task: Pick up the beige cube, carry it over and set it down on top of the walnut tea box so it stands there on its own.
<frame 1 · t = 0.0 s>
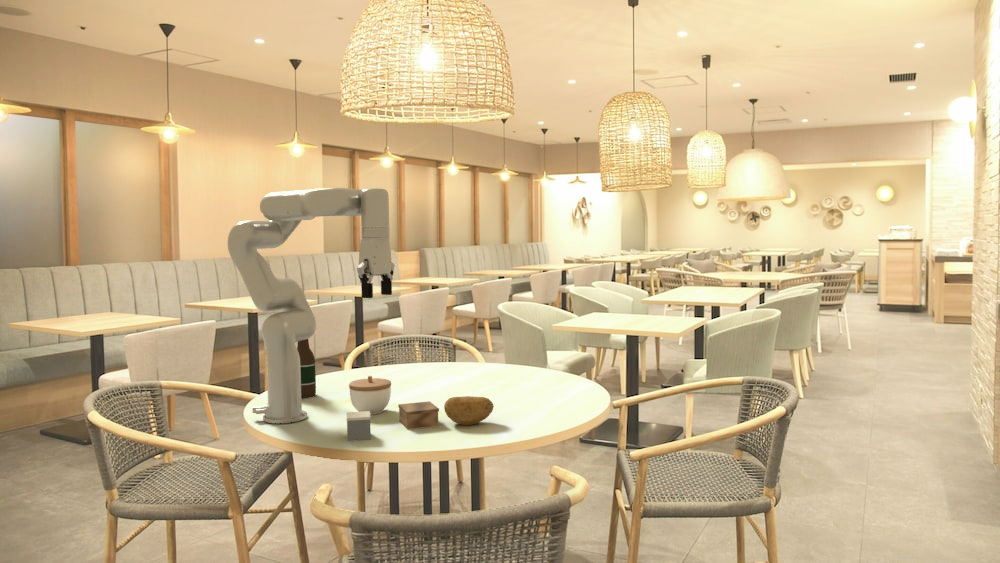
hand: (377, 296, 202), 37 cm above the table, tool pointing down, fingers open, 9 cm apart
beige cube: (359, 437, 197), on the table
beer bottle: (304, 396, 246), on the table
lidded bowl: (370, 412, 224), on the table
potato: (469, 424, 209), on the table
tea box: (418, 424, 210), on the table
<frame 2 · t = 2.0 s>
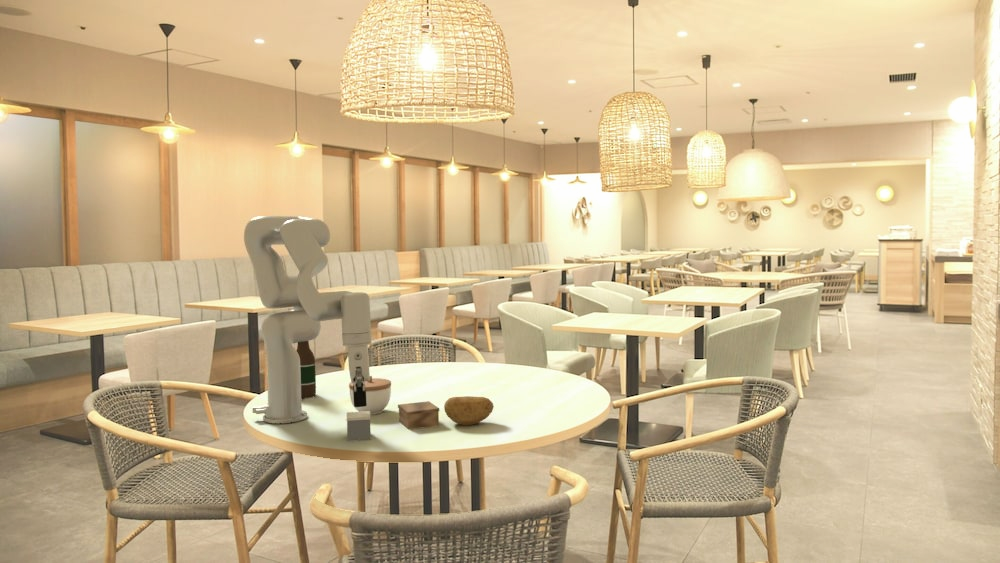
hand: (360, 402, 196), 10 cm above the table, tool pointing down, fingers open, 9 cm apart
nothing on the table moved.
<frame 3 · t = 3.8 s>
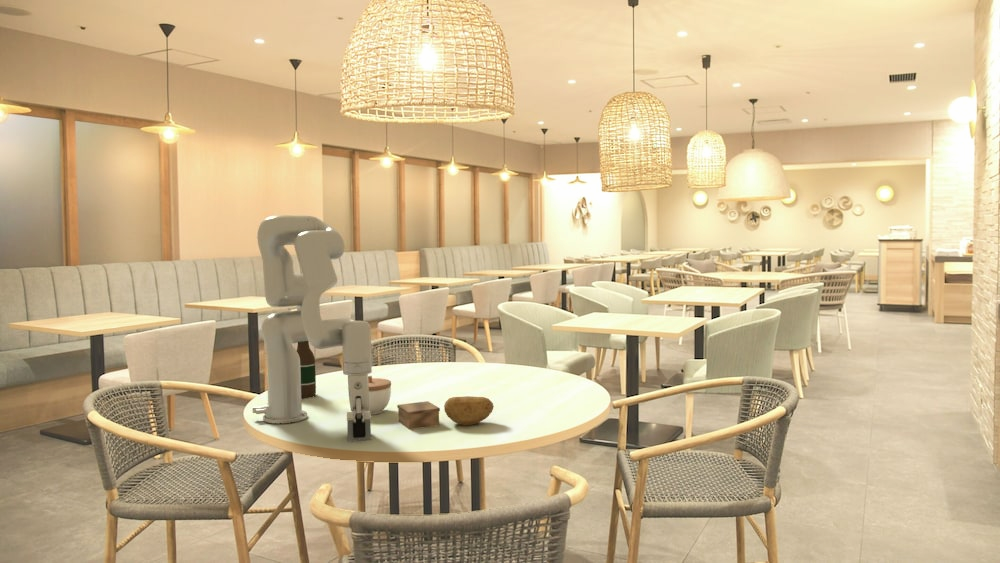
hand: (359, 433, 197), 1 cm above the table, tool pointing down, fingers closed on beige cube, 6 cm apart
beige cube: (359, 437, 197), on the table, touching gripper
everything else where it was.
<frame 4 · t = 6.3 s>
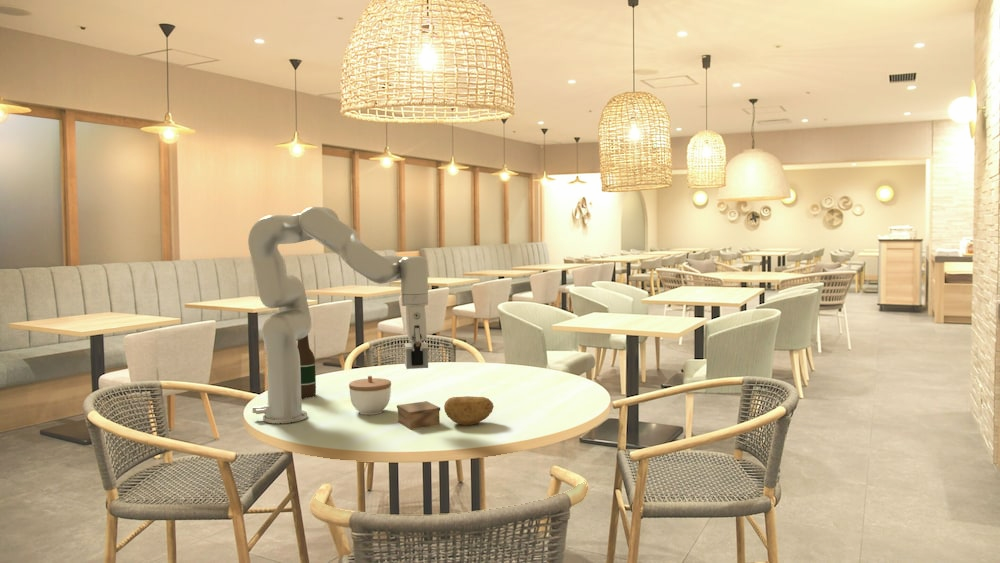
hand: (416, 362, 209), 18 cm above the table, tool pointing down, fingers closed on beige cube, 6 cm apart
beige cube: (416, 366, 209), point 17 cm above the table, touching gripper
everything else where it was.
when the fingers open (6 cm above the table, at t = 9.3 s): beige cube stays where it is, resting on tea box.
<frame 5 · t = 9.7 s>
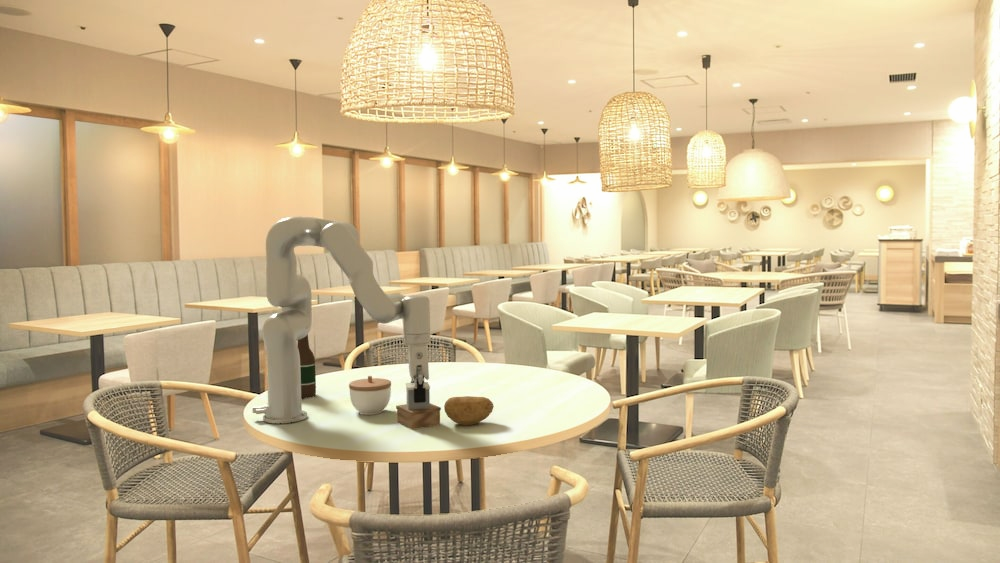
hand: (418, 398, 210), 7 cm above the table, tool pointing down, fingers open, 9 cm apart
beige cube: (418, 406, 210), point 5 cm above the table, touching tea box
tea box: (418, 424, 210), on the table, touching beige cube
everything else where it was.
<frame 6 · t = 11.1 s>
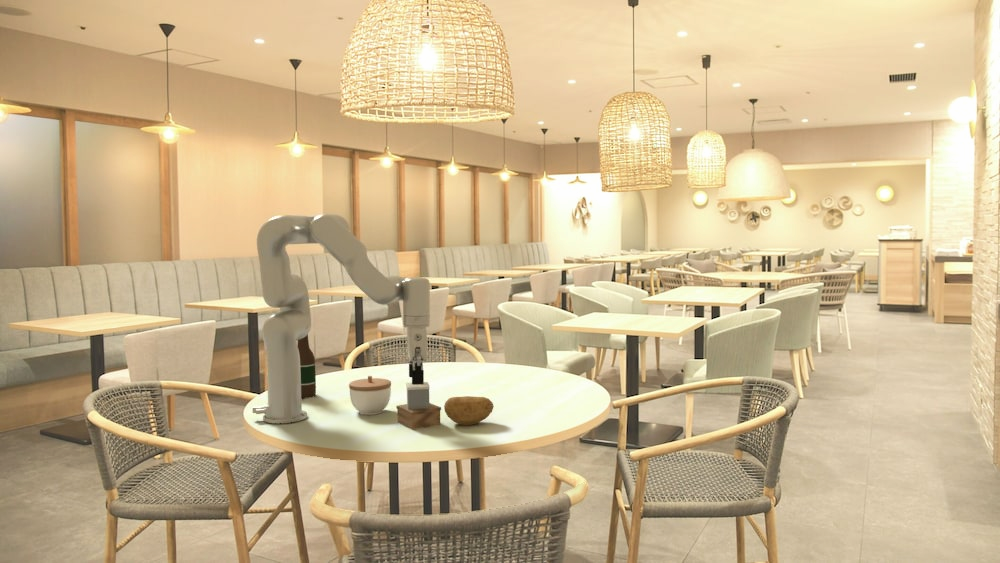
hand: (416, 380, 209), 12 cm above the table, tool pointing down, fingers open, 9 cm apart
nothing on the table moved.
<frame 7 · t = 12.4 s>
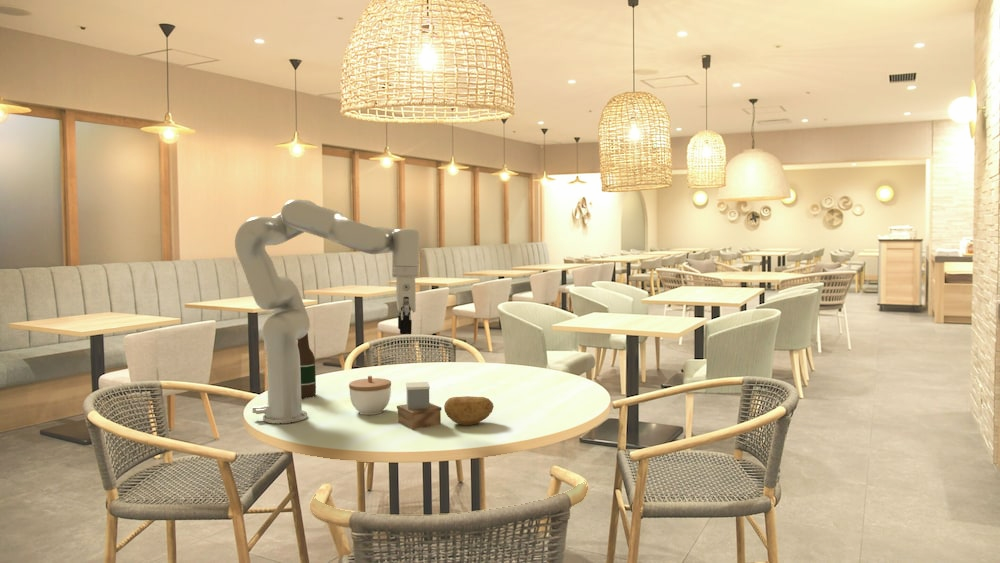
hand: (404, 331, 211), 26 cm above the table, tool pointing down, fingers open, 9 cm apart
beige cube: (417, 406, 210), point 5 cm above the table
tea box: (419, 424, 210), on the table
everything else where it was.
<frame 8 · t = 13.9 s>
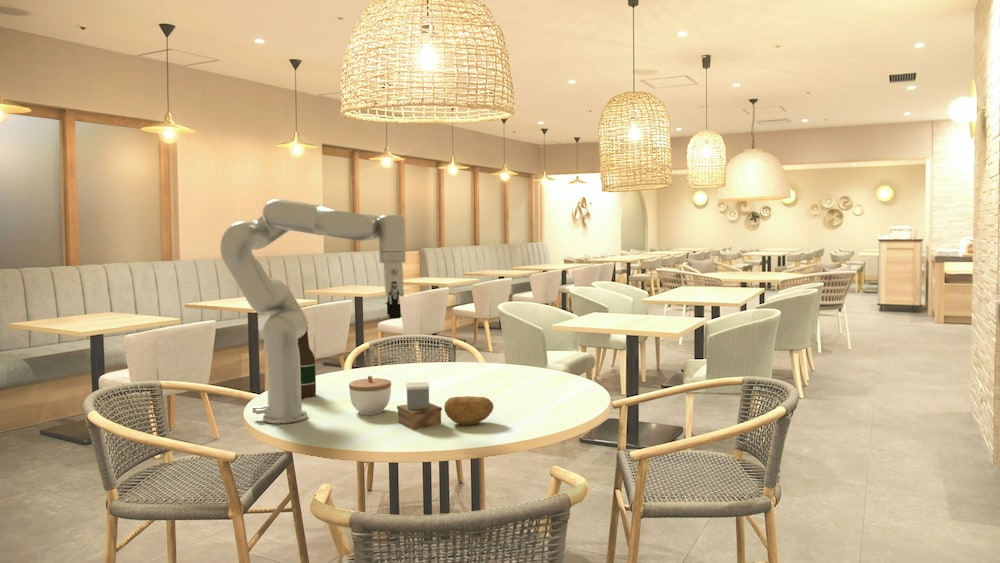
hand: (393, 316, 214), 30 cm above the table, tool pointing down, fingers open, 9 cm apart
beige cube: (417, 406, 210), point 5 cm above the table, touching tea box
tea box: (419, 424, 210), on the table, touching beige cube
everything else where it was.
at the end: beige cube inside the target area on the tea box (0.4 cm from its centre), point 5.2 cm above the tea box's base; beige cube tilted 0°; beige cube touching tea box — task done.
